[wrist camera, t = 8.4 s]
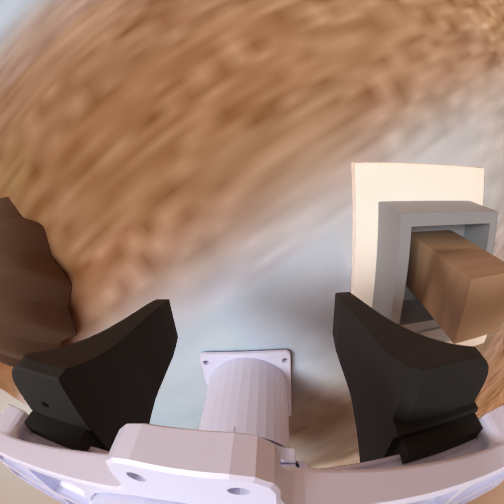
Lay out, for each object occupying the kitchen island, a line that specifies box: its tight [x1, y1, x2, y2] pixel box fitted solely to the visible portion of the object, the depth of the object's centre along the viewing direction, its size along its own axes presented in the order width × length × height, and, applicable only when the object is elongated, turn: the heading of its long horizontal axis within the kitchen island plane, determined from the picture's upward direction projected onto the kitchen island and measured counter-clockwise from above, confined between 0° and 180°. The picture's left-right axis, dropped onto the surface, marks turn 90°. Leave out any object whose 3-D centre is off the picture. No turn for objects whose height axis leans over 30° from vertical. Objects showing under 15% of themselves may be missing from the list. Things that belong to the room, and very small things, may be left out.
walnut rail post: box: [406, 230, 504, 344], centre depth 15 cm, size 4×4×8 cm
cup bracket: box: [351, 162, 498, 347], centre depth 18 cm, size 14×12×5 cm
